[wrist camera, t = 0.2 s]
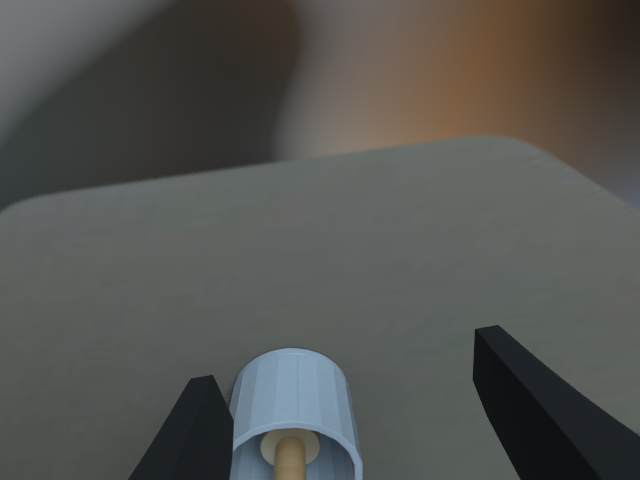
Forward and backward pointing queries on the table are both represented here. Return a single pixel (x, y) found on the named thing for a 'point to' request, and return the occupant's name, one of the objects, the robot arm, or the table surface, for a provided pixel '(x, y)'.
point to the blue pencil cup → (294, 413)
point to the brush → (290, 451)
